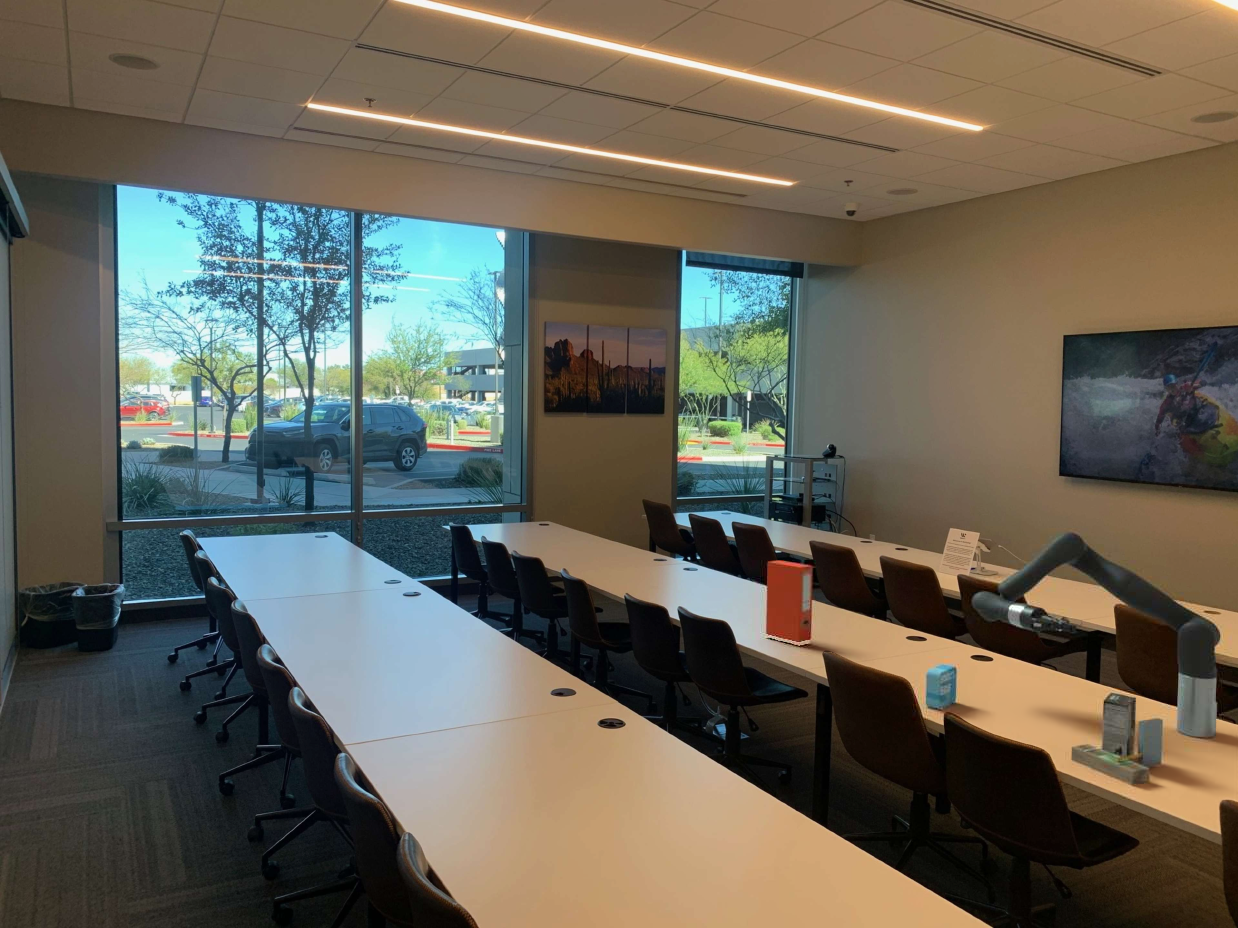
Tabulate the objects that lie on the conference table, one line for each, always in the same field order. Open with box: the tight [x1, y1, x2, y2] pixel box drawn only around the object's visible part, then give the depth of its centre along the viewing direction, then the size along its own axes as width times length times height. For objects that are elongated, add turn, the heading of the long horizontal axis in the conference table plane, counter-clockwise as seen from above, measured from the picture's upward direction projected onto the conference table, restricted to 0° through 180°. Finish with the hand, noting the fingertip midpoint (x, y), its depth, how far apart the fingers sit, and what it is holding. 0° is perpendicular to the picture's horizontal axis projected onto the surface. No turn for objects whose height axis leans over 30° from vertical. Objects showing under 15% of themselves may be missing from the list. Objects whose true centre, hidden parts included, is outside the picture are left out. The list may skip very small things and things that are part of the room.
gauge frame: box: [1071, 743, 1150, 786], centre depth 232 cm, size 6×18×4 cm, turn 22°
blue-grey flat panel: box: [1115, 717, 1164, 768], centre depth 231 cm, size 16×2×12 cm, turn 112°
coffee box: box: [1101, 692, 1137, 761], centre depth 241 cm, size 9×6×16 cm
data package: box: [925, 663, 958, 710], centre depth 284 cm, size 12×4×12 cm, turn 134°
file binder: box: [765, 560, 814, 642], centre depth 364 cm, size 8×17×32 cm, turn 39°
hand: (1074, 629), depth 261 cm, fingers closed
